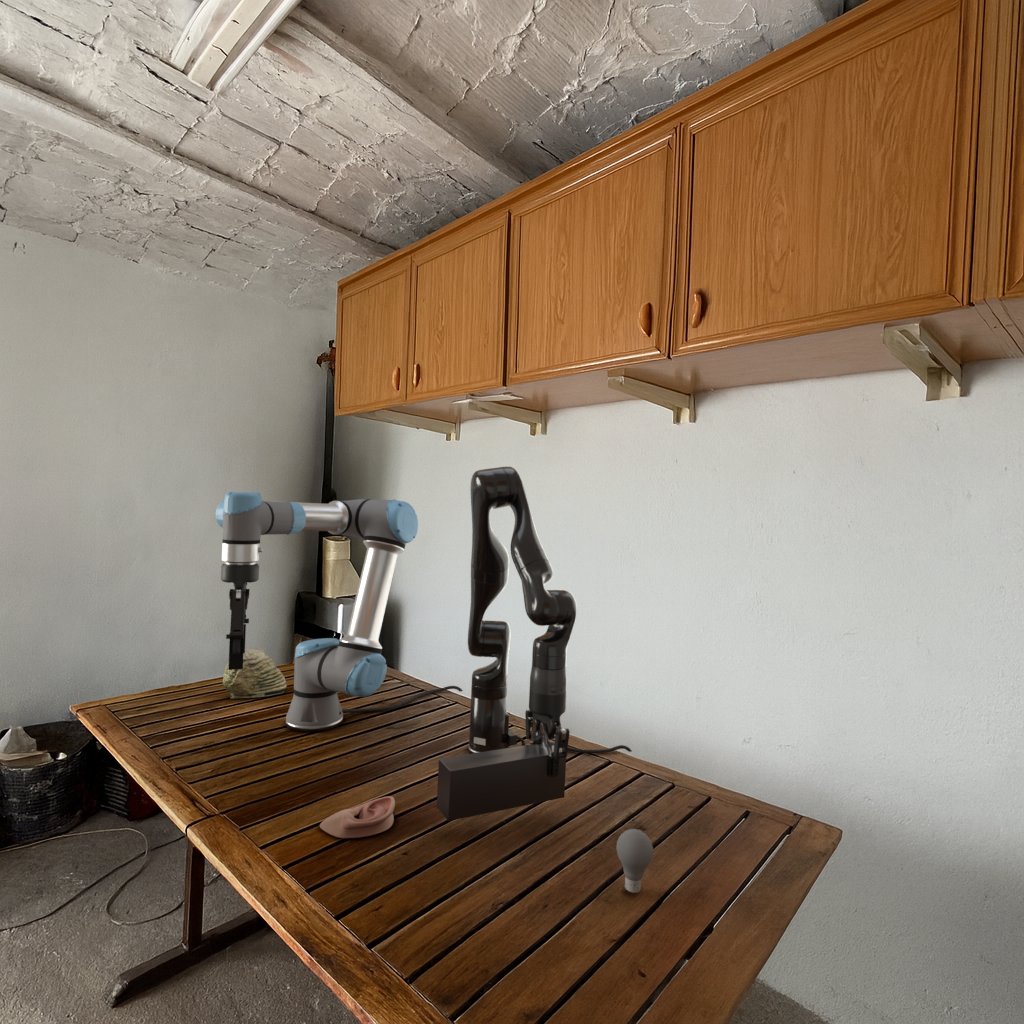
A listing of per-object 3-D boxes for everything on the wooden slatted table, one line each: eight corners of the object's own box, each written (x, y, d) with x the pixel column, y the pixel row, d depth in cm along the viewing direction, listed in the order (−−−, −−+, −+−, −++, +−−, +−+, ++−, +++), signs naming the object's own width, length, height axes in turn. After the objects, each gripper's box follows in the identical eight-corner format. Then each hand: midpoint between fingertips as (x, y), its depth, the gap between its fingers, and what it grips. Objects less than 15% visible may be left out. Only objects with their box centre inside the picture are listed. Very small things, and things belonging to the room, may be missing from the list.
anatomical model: (312, 812, 119) (340, 786, 130) (311, 833, 119) (340, 805, 130) (378, 823, 116) (401, 795, 127) (377, 844, 116) (401, 814, 127)
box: (448, 821, 116) (450, 771, 116) (436, 806, 122) (438, 758, 122) (564, 797, 128) (566, 751, 128) (549, 785, 133) (551, 741, 133)
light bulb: (610, 879, 108) (613, 822, 108) (644, 879, 109) (647, 822, 109) (619, 902, 102) (622, 840, 102) (655, 901, 103) (658, 840, 103)
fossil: (218, 695, 195) (220, 647, 195) (278, 685, 208) (279, 640, 207) (228, 703, 189) (230, 653, 188) (289, 692, 201) (290, 645, 201)
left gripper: (258, 569, 126) (254, 675, 127) (259, 557, 150) (256, 646, 150) (217, 569, 124) (213, 677, 124) (225, 557, 147) (221, 648, 147)
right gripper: (583, 696, 124) (579, 781, 125) (546, 676, 137) (542, 754, 137) (550, 700, 121) (546, 787, 121) (515, 680, 134) (511, 759, 134)
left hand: (237, 661), depth 137 cm, fingers open, 13 cm apart
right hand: (544, 769), depth 129 cm, fingers closed on box, 6 cm apart
